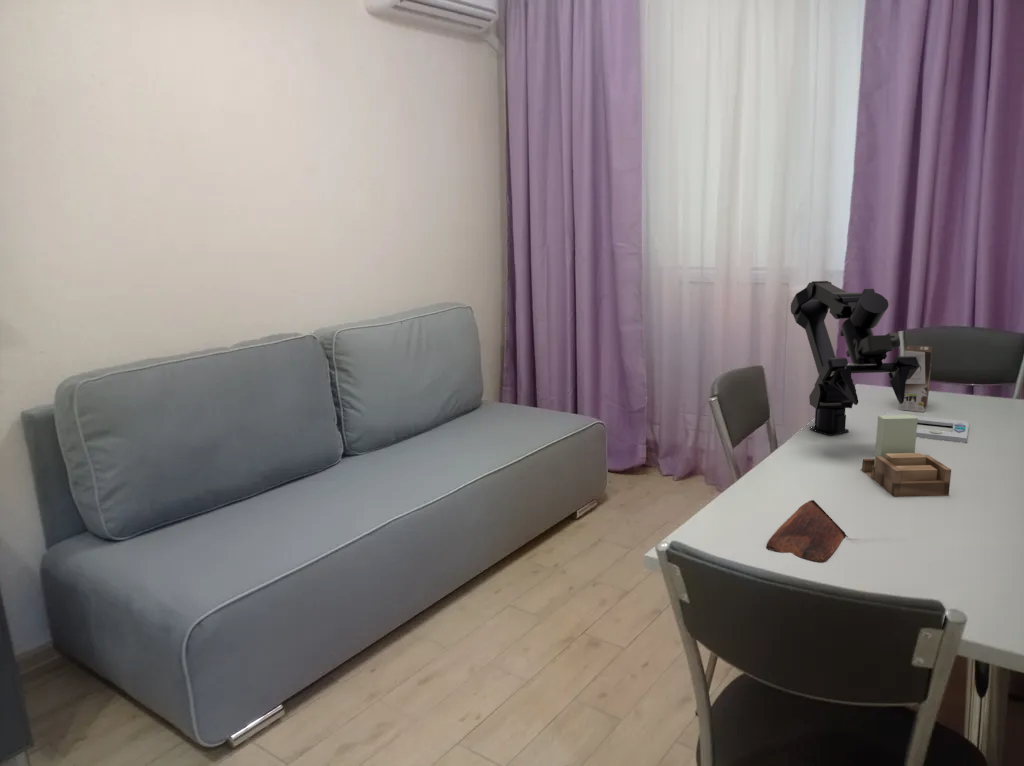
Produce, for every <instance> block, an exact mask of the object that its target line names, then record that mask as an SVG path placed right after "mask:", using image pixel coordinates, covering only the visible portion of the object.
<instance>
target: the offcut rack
mask: <svg viewBox="0 0 1024 766" xmlns="http://www.w3.org/2000/svg"><path fill="white" fill-rule="evenodd" d="M923 455H924V456H925V457H926V463H925V465H931V466H932V467H934V468H936V469H937V479H936V481H901V470H900V469H899V468H897V467H896V466H894V465H893V464H892V463H890V462H889V461H887V460H886V459H885V458H883V457H882V456H876V463H875V466H874V461H875V458H862V462H861V463H862V464H861V468H860V469H859V470H860V471H862V472H863V473H864V474H865V475H867V477H869V478H870V479H872V480H873V481H874V482H875V483H876V484H878V485H879V486H880V487H881V488H882V489H884V490H885V491H886V492H887V493H889V494H890V495H891V496H892V497H894V498H904V497H905V498H908V497H909V498H910V497H916V498H917V497H946V496H947V497H949V496H950V487H951V479H952V478H951V477H952V468H950V467H948V466H947V465H946V464H943V463H941V461H939V460H937V459H936V458H934V457H932V456H930V455H929V454H923Z"/></svg>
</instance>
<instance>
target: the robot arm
mask: <svg viewBox="0 0 1024 766" xmlns="http://www.w3.org/2000/svg"><path fill="white" fill-rule="evenodd" d="M888 308H889V301H888V299H887V298H886V297H885V296H884V295H882V294H881V293H877V292H875V288H864V289H863V291H862V292H852V291H851V292H848V291H846V290H844V289H842V288H839V287H838V286H836V285H834V284H832V282H831V281H828V280H820V281H819V280H817V281H815V280H814V281H811V282H809V283H808V284H807V285H806V287H804V288H803V289H802V290H800V291H798V292H797V293H796V294H795V295H794V297H793V299H792V301H791V302H790V312H791V313H790V314H792V315H793V318H794V322H795V323H796V324H797V325H799V326H800V327H801V328H803V329H804V330H805V333H806V336H807V341H808V343H809V348H810V349H811V353H812V354H811V355H812V357H813V360H814V363H815V367H816V370H817V373H818V376H817V378H816V381H815V383H814V387H813V389H812V391H811V393H810V394H809V399H808V400H809V406H811V407H813V408H814V409H815V410H814V411H815V415H814V426H809V429H810V428H811V427H812V428H811V429H813V430H812V431H814V430H816V431H815V432H817V431H818V433H820V432H821V433H820V434H824V435H826V436H834V435H838V434H845V433H849V431H850V430H849V429H848V428H846V421H847V414H846V409H853V405H855V406H857V405H858V404H859V398H858V394H857V389H856V386H855V383H854V380H853V378H852V374H883V373H887V374H888V376H889V378H890V381H889V383H890V385H891V387H892V390H893V392H894V395H895V396H896V400H897V401H898V403H900V404H902V403H903V402H904V395H905V385H906V380H908V379H910V378H911V377H912V375H913V374H914V373H915V372H916V370H917V369H918V368H919V366H920V364H919V361H918V359H917V358H916V357H915V356H904V355H897V356H896V357H895V358H894V359H893V361H892V362H883V360H886V358H887V356H888V355H887V353H888V352H892V351H893V350H896V349H897V348H899V347H901V339H900V337H899V335H898V334H899V333H898V332H888V333H886V334H884V335H883V334H881V335H874V331H873V328H875V327H877V326H878V324H879V322H880V321H881V320H882V318H883V316H884V315H885V313H886V311H887V310H888ZM828 312H829V314H831V316H832V317H833V318H834V319H835V320H844V321H843V323H842V325H841V330H840V332H839V335H840V337H844V342H845V344H846V347H847V350H846V352H845V353H846V357H848V358H849V357H850V361H851V363H849V360H848V359H847V358H846V357H836V354H835V350H834V347H833V344H832V342H831V338H830V335H829V333H828V330H827V325H826V322H825V320H826V317H827V315H828ZM811 429H810V430H811Z"/></svg>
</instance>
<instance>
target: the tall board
mask: <svg viewBox="0 0 1024 766" xmlns="http://www.w3.org/2000/svg"><path fill="white" fill-rule="evenodd" d="M915 416H916V415H913V414H902V415H885V414H884V415H883V414H882V415H877V426H876V437H875V438H876V439H875V453H874V459H875V461H874V466H875V463H876V456H882V457H883V458H885V454H894V453H916V442H917V437H916V432H917V429H918V423H917V422H918V418H917V417H915Z"/></svg>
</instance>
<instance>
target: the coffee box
mask: <svg viewBox="0 0 1024 766" xmlns="http://www.w3.org/2000/svg"><path fill="white" fill-rule="evenodd" d="M933 348H934V347H933V346H932V345H931V346H930V345H909V344H908V345H906V346H905V348H904V350H903V356H915V357H916V358H917V359H918V361H919V364H920V366H919V368H918V369H917V370H916V372H915V373H914V374H913V375H912V377H911V378H910V379H908V380H906V385H905V395H904V402H903V403H902V404H900V403H899V402H898V403H899V404H898V410H901V411H911V412H918V413H925V412H926V409H927V406H928V403H929V402H928V401H929V393H930V382H931V373H932V372H931V371H932V360H933V359H932V358H933V350H934V349H933Z"/></svg>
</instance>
